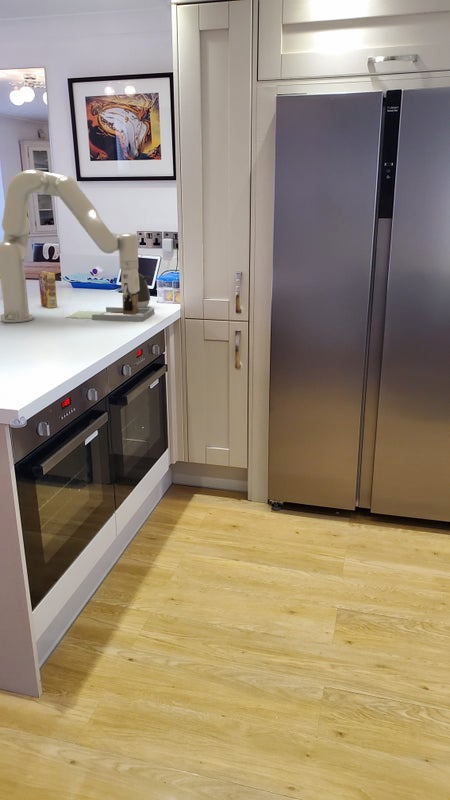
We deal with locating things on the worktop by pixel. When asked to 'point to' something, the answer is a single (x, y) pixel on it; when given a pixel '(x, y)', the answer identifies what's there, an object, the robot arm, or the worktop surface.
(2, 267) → the robot arm
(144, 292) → the dark grey tall ovoid
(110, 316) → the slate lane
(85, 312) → the mat
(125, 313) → the walnut block
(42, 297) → the candy box
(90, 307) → the worktop surface
